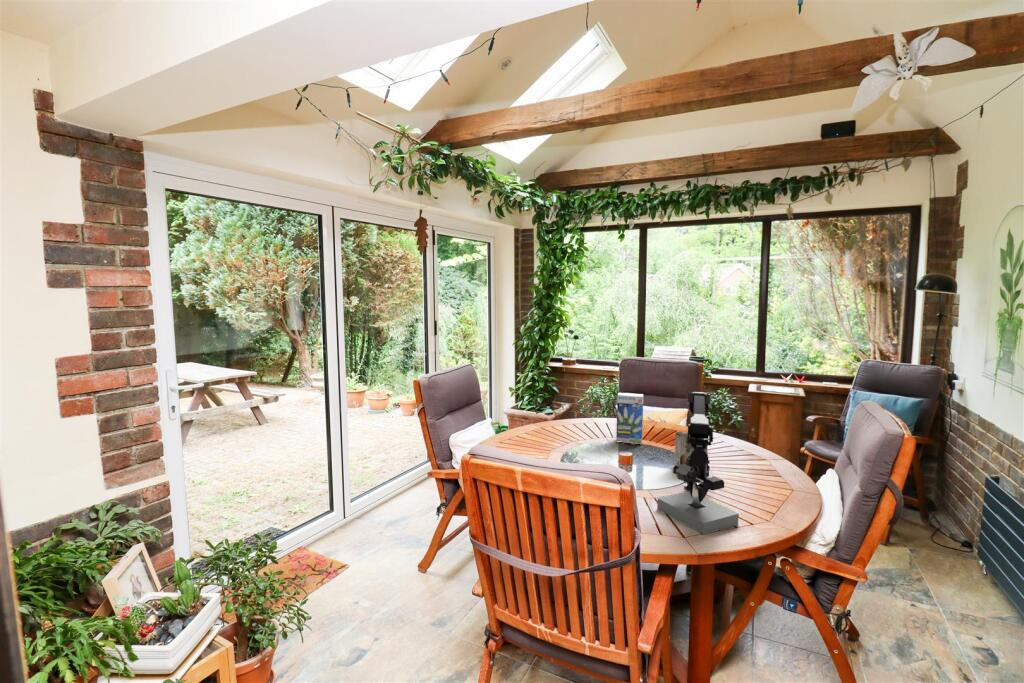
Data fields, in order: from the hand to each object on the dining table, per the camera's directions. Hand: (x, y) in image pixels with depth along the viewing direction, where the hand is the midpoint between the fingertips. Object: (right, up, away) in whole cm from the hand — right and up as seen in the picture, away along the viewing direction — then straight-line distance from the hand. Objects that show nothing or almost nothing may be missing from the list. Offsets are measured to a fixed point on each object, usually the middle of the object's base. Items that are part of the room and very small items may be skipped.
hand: (696, 499), depth 177 cm
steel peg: (0, -3, 0) cm, 3 cm away
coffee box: (+13, -1, +49) cm, 51 cm away
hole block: (0, -6, 0) cm, 6 cm away
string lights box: (-3, +2, +88) cm, 88 cm away
